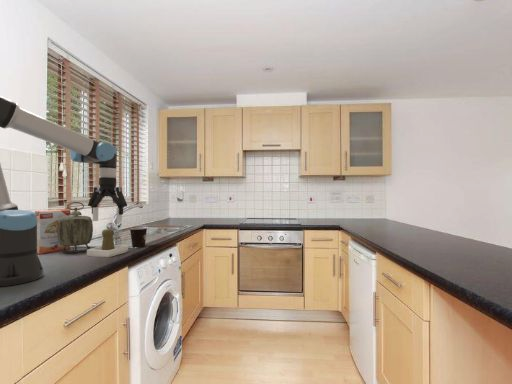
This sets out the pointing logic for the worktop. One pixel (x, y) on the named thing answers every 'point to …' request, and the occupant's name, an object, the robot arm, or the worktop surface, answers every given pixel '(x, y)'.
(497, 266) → the worktop surface
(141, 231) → the coffee mug
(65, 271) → the worktop surface
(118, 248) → the tray
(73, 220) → the tabletop clock
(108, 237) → the olive rounded piece
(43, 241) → the cracker box
